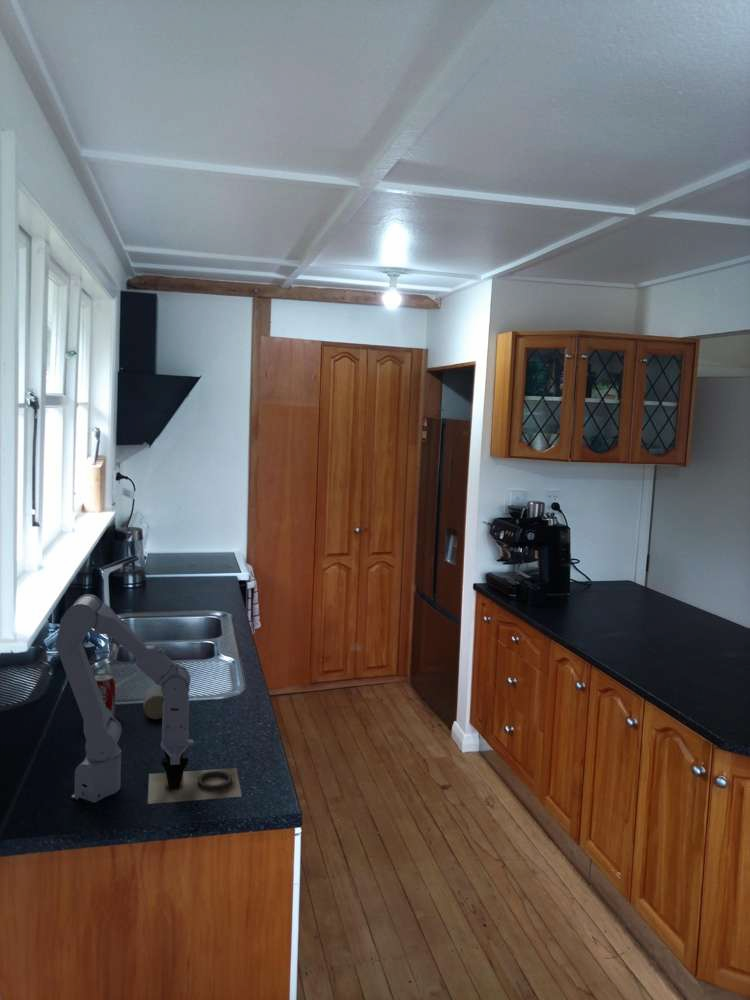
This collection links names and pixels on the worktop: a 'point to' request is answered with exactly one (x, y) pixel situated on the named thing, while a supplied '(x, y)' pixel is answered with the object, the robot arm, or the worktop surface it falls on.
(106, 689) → the soda can
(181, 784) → the brass fitting
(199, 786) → the jig board
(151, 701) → the ceramic mug
